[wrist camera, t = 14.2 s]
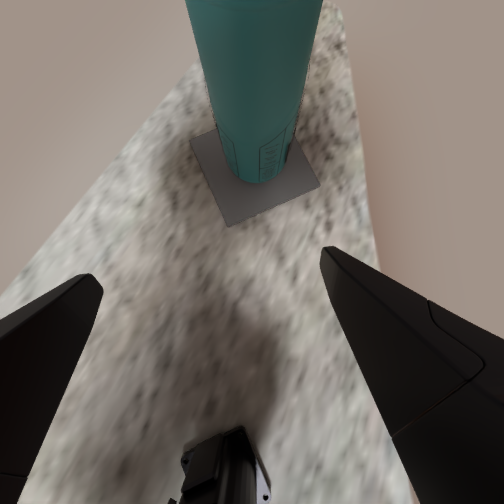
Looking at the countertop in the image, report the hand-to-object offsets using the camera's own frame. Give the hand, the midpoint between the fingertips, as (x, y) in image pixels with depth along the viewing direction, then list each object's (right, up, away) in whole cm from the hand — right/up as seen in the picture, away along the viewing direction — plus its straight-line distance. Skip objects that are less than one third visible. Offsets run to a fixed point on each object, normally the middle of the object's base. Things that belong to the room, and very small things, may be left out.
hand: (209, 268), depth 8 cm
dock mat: (+2, +10, +15) cm, 18 cm away
